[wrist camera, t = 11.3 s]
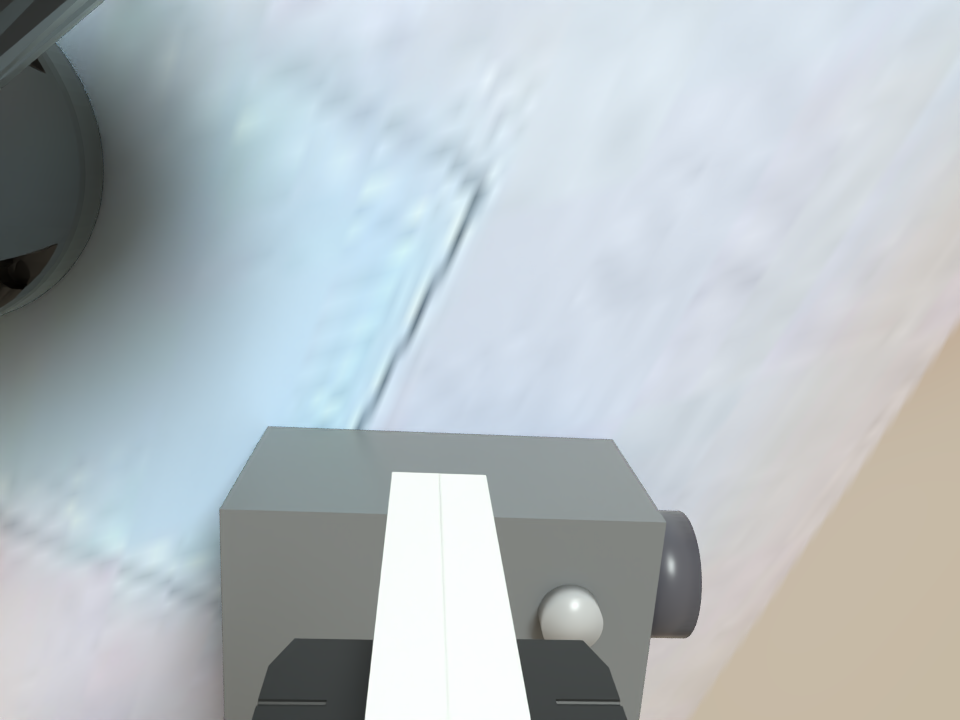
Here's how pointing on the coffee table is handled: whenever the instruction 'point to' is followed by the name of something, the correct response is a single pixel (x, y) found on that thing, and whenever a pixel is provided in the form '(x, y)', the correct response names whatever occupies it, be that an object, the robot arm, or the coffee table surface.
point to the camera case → (520, 531)
